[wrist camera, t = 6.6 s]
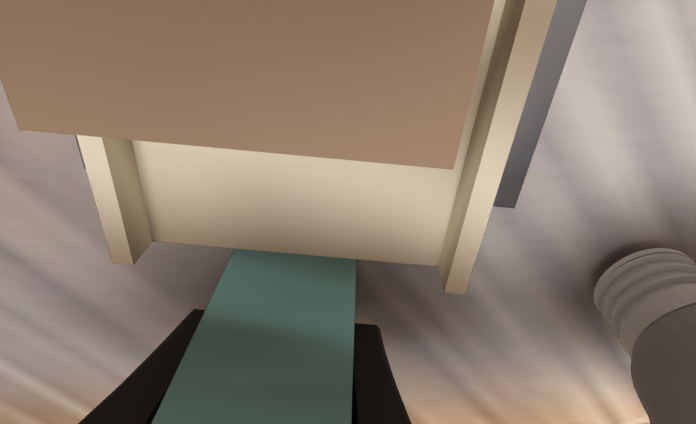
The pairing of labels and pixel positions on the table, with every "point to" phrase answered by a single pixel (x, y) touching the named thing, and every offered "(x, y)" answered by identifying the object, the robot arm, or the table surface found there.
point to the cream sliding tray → (308, 239)
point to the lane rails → (535, 99)
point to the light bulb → (655, 328)
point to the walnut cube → (250, 73)
